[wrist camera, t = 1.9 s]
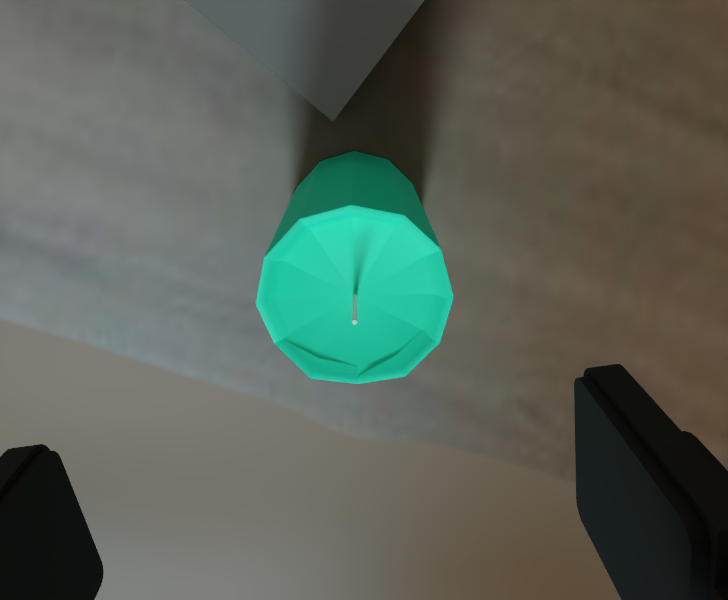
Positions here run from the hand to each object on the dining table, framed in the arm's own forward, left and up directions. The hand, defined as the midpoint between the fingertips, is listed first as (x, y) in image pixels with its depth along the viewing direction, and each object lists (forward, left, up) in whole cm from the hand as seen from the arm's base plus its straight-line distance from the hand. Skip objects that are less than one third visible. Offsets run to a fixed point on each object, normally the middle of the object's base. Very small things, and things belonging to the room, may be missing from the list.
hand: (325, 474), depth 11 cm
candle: (0, 0, -19) cm, 19 cm away
